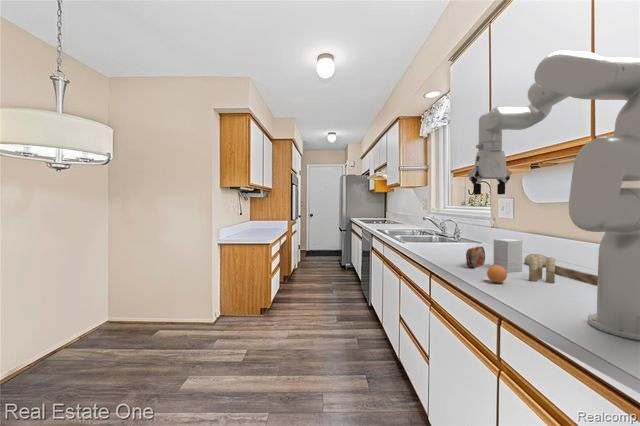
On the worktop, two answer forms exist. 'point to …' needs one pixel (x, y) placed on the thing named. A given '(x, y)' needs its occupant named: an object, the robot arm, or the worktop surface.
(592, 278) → the brown wooden bar
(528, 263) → the sea urchin shell
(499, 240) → the supplement box
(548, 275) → the back right pin
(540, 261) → the back left pin
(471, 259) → the tin
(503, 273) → the ball
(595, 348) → the worktop surface
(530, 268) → the front pin
